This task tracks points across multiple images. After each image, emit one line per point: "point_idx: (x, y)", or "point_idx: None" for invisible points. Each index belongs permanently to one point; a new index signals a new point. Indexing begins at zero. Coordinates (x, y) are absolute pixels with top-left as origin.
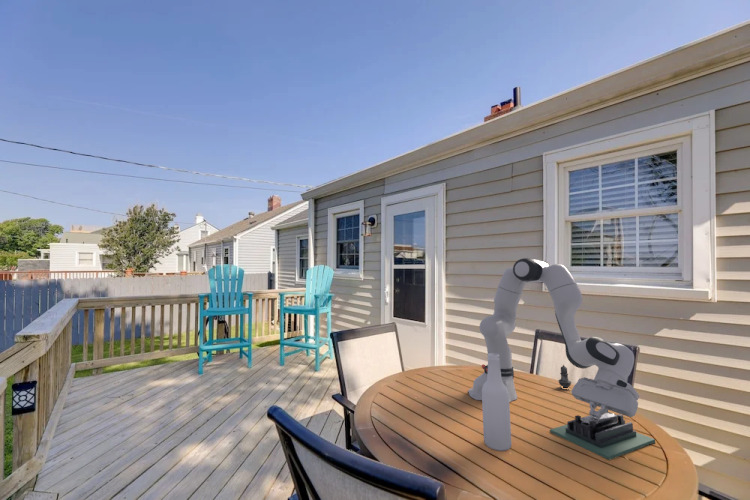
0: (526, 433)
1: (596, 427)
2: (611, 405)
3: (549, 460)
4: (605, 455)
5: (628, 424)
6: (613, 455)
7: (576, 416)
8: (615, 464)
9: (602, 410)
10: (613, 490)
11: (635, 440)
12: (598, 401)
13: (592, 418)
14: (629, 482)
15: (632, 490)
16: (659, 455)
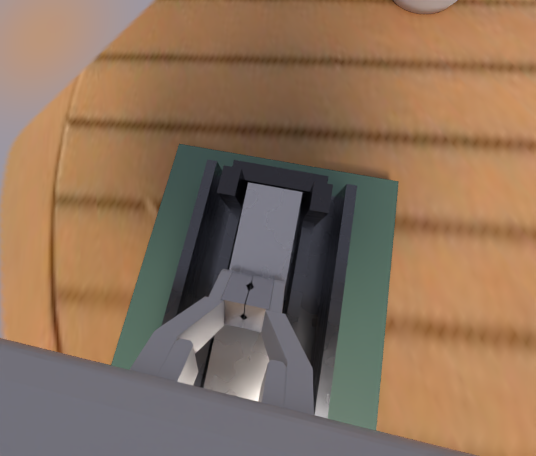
0: (430, 111)
1: None
2: (21, 358)
3: (290, 25)
4: (190, 146)
5: None
6: (173, 167)
7: (324, 184)
8: (165, 140)
9: (180, 316)
10: (142, 24)
11: None
12: (194, 402)
13: (256, 256)
14: (121, 80)
15: (111, 54)
16: (72, 323)
